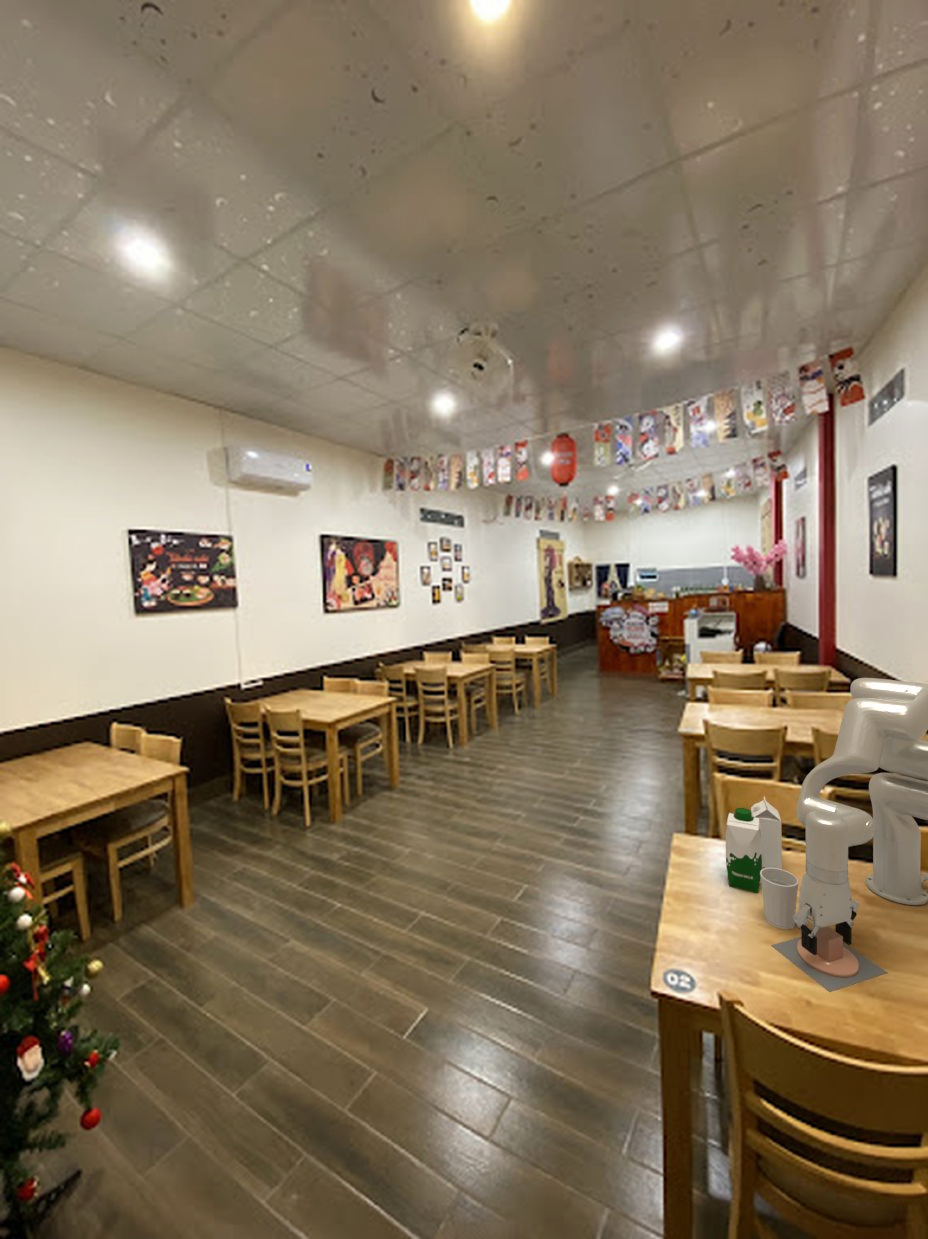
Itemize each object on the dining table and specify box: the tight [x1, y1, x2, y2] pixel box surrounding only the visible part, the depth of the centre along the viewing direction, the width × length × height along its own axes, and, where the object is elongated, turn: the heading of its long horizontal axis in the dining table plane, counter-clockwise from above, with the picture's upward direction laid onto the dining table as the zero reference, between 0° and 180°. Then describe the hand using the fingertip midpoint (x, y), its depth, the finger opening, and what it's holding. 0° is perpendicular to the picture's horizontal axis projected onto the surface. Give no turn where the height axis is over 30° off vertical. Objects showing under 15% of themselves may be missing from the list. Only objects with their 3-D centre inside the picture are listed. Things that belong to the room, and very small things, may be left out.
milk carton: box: [750, 796, 783, 870], centre depth 149 cm, size 7×7×19 cm
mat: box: [770, 936, 889, 993], centre depth 110 cm, size 16×14×1 cm
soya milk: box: [724, 807, 763, 894], centre depth 139 cm, size 9×9×20 cm
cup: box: [760, 868, 799, 930], centre depth 123 cm, size 8×8×12 cm
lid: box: [797, 926, 859, 978], centre depth 110 cm, size 11×11×6 cm
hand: (826, 945), depth 110 cm, fingers open, 9 cm apart
